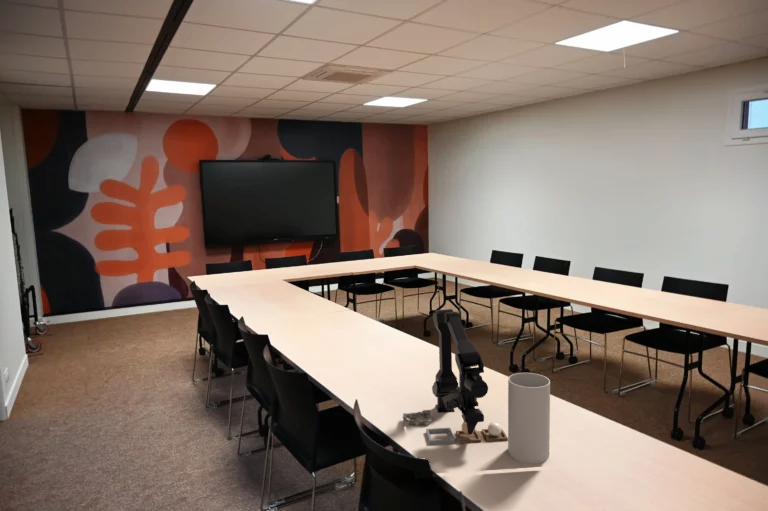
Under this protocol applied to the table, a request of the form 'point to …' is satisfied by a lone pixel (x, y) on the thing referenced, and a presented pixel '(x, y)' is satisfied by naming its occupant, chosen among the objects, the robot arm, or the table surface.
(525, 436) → the cylinder vase
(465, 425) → the egg brown
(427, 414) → the egg carton
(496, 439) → the rack
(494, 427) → the white smooth ball
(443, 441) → the dish
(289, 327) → the table surface
